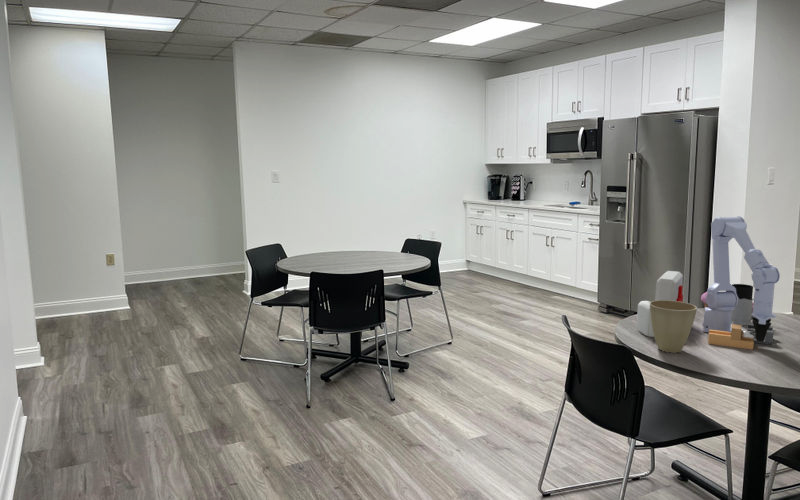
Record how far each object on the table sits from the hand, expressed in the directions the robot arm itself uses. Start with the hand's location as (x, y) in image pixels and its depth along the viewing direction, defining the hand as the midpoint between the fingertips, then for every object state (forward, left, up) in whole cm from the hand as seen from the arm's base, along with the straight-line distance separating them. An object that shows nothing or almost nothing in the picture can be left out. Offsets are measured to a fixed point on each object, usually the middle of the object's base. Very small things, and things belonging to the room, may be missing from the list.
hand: (759, 339), depth 210 cm
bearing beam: (-10, 0, -3) cm, 10 cm away
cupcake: (-17, +44, -3) cm, 47 cm away
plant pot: (-27, -17, -3) cm, 32 cm away
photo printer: (-37, 0, -3) cm, 37 cm away
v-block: (0, +11, -3) cm, 11 cm away
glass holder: (-4, +36, -3) cm, 36 cm away
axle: (-4, 0, 0) cm, 4 cm away
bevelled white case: (-31, +18, -3) cm, 36 cm away
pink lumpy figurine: (-3, +48, -3) cm, 48 cm away
